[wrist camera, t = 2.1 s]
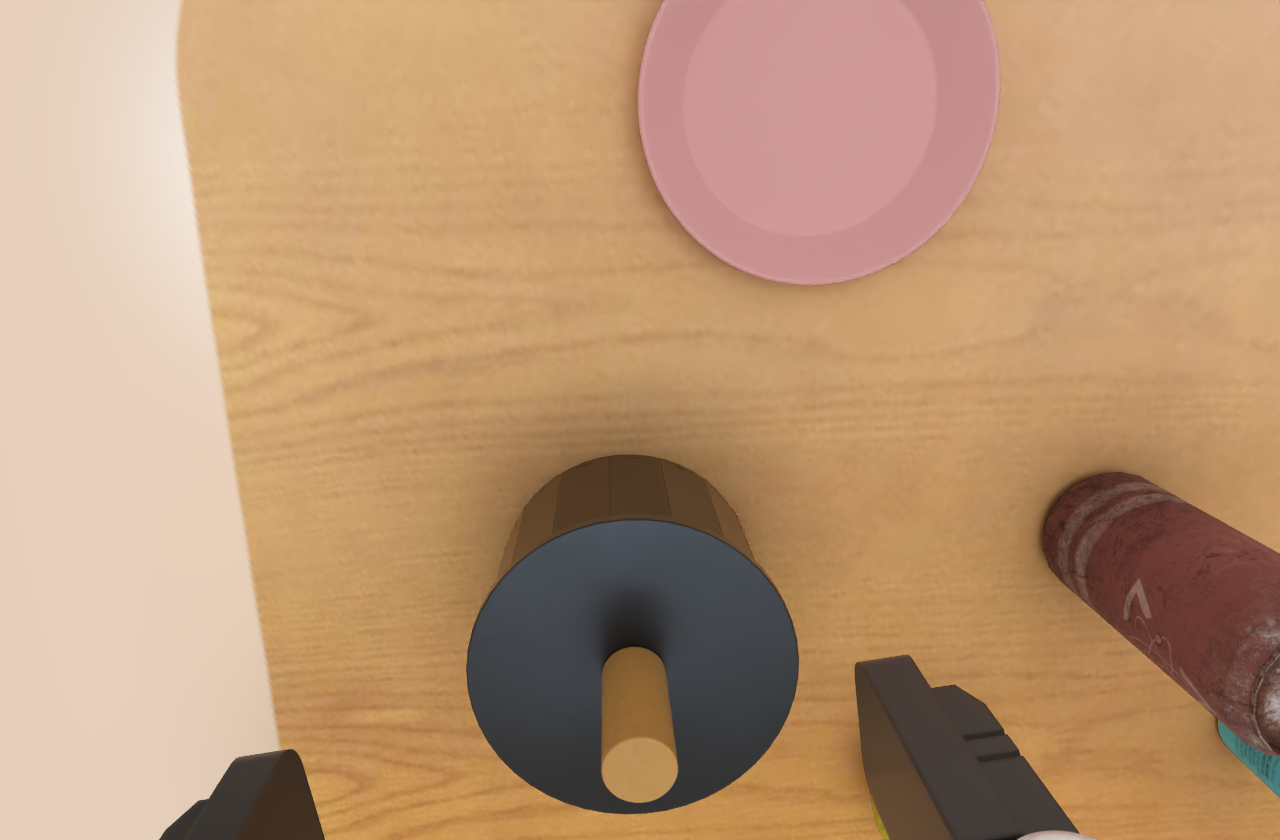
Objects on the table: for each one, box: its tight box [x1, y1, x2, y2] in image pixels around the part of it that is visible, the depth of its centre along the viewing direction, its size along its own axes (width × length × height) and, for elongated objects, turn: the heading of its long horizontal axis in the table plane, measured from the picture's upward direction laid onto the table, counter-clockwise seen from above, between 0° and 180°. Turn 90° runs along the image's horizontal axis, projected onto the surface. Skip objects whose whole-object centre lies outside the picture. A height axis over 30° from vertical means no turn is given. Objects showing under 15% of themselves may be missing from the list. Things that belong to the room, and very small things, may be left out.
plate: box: [638, 0, 1000, 285], centre depth 35 cm, size 14×14×2 cm
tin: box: [497, 455, 755, 580], centre depth 37 cm, size 11×11×8 cm
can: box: [1044, 472, 1280, 757], centre depth 35 cm, size 6×6×14 cm
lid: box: [466, 514, 799, 814], centre depth 30 cm, size 12×12×7 cm
